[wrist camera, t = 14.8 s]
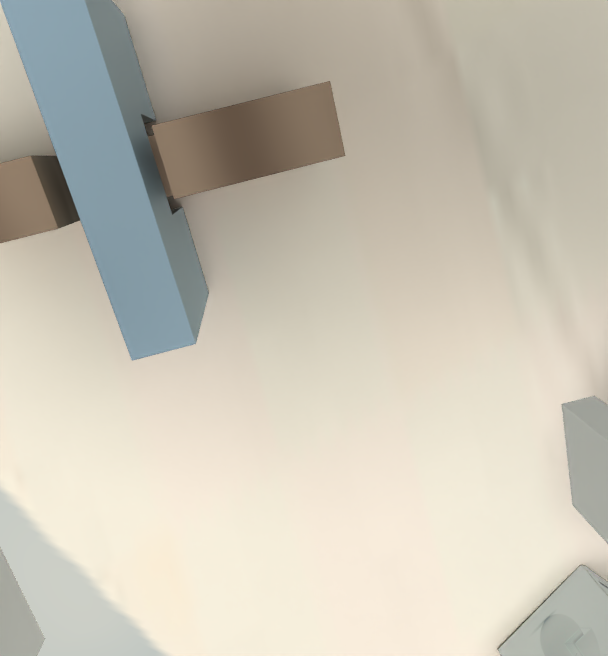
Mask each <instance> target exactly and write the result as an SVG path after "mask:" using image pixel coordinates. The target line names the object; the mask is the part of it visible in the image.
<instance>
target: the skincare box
mask: <svg viewBox="0 0 608 656" xmlns="http://www.w3.org/2000/svg"><path fill="white" fill-rule="evenodd" d="M498 651H499V653H500V655H501V656H608V582H607V581H606V580H604V579H603V578H601V577H600V576H598V575H597V574H595V573H594V572H593V571H591V570H590V569H589V568H587V567H586V566H582V565H580V566H579V567H578V568H577V569H576V570H575V571H574V572H573V573H572V574H571V575H570V576H569V577H568V578H567V579H566V580H565V582H564V583H563V584H562V585H561V586H560V587H559V588H558V589H557V590H556V591H555V592H554V593H553V594H552V595H551V596H550V597H549V598H548V599H547V600H546V601H545V602H544V603H543V604H542V605H541V606H540V607H539V608H538V609H537V610H536V611H535V612H534V613H533V614H532V615H531V616H530V617H529V618H528V619H527V620H526V621H525V622H524V623H523V624H522V625H521V626H520V628H519V629H518V630H517V631H516V632H515V633H514V634H513V635H512V636H511V637H510V638H509V639H508V640H507V641H506V642H505V643H504V644H503V645H502V646H501V647H500V648H499V649H498Z"/></svg>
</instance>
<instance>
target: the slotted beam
mask: <svg viewBox="0 0 608 656" xmlns="http://www.w3.org/2000/svg"><path fill="white" fill-rule="evenodd" d="M152 129H153V132H154V135H151V136H148V139H149V142H150V145H151V149H152V152H153V155H154V158H155V161H156V165H157V168H158V171H159V174H160V177H161V181H162V184H163V187H164V190H165V193H166V197H169V196H173V197H174V199H177V198H181V197H185V196H189V195H193V194H196V193H200V192H204V191H208V190H212V189H216V188H220V187H224V186H228V185H232V184H236V183H240V182H244V181H248V180H252V179H256V178H260V177H264V176H268V175H271V174H275V173H279V172H283V171H287V170H291V169H295V168H299V167H303V166H307V165H311V164H315V163H319V162H323V161H327V160H331V159H335V158H339V157H342V156H345V152H344V147H343V142H342V137H341V132H340V127H339V122H338V118H337V113H336V108H335V103H334V98H333V93H332V88H331V83H330V81H328V82H324V83H320V84H316V85H312V86H308V87H304V88H300V89H296V90H292V91H288V92H284V93H280V94H276V95H272V96H268V97H264V98H260V99H256V100H252V101H248V102H244V103H240V104H236V105H232V106H228V107H224V108H220V109H216V110H212V111H208V112H204V113H200V114H196V115H192V116H188V117H184V118H180V119H176V120H172V121H168V122H164V123H160V124H156V125H152ZM77 221H80V218H79V215H78V212H77V209H76V207H75V204H74V201H73V198H72V196H71V193H70V190H69V188H68V185H67V182H66V179H65V177H64V174H63V171H62V168H61V166H60V163H59V160H58V158H57V156H27V157H23V158H19V159H15V160H11V161H7V162H3V163H0V243H3V242H7V241H11V240H15V239H19V238H23V237H27V236H31V235H35V234H39V233H43V232H46V231H50V230H54V229H58V228H61V227H64V226H66V225H69V224H72V223H74V222H77Z"/></svg>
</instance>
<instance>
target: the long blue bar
mask: <svg viewBox="0 0 608 656" xmlns="http://www.w3.org/2000/svg"><path fill="white" fill-rule="evenodd" d="M0 2H1V5H2V8H3V10H4V13H5V16H6V19H7V21H8V24H9V27H10V29H11V32H12V35H13V38H14V40H15V43H16V46H17V49H18V51H19V54H20V57H21V59H22V62H23V65H24V68H25V70H26V73H27V76H28V79H29V81H30V84H31V87H32V89H33V92H34V95H35V98H36V100H37V103H38V106H39V109H40V111H41V114H42V117H43V119H44V122H45V125H46V128H47V130H48V133H49V136H50V138H51V141H52V144H53V147H54V149H55V152H56V155H57V158H58V160H59V163H60V166H61V168H62V171H63V174H64V177H65V179H66V182H67V185H68V188H69V190H70V193H71V196H72V198H73V201H74V204H75V207H76V209H77V212H78V215H79V218H80V220H81V223H82V226H83V228H84V231H85V234H86V237H87V239H88V242H89V245H90V248H91V250H92V253H93V256H94V258H95V261H96V264H97V267H98V269H99V272H100V275H101V278H102V280H103V283H104V286H105V288H106V291H107V294H108V297H109V299H110V302H111V305H112V308H113V310H114V313H115V316H116V318H117V321H118V324H119V327H120V329H121V332H122V335H123V337H124V340H125V343H126V346H127V348H128V351H129V354H130V357H131V359H132V360H136V359H140V358H144V357H147V356H151V355H155V354H159V353H163V352H167V351H170V350H174V349H178V348H182V347H186V346H189V345H193V344H196V341H197V337H198V333H199V329H200V325H201V321H202V318H203V314H204V310H205V306H206V302H207V298H208V294H209V292H208V289H207V285H206V282H205V279H204V276H203V272H202V269H201V266H200V262H199V259H198V256H197V253H196V249H195V246H194V243H193V239H192V236H191V233H190V230H189V226H188V223H187V220H186V217H185V213H184V210H183V207H180V208H176V209H172V210H171V209H170V206H169V203H168V200H167V197H166V193H165V190H164V187H163V184H162V181H161V177H160V174H159V171H158V168H157V165H156V161H155V158H154V155H153V152H152V149H151V145H150V142H149V139H148V136H147V133H146V129H145V126H144V123H148V122H152V121H156V118H155V115H154V112H153V108H152V105H151V102H150V99H149V95H148V92H147V89H146V85H145V82H144V79H143V76H142V72H141V69H140V66H139V63H138V59H137V56H136V53H135V49H134V46H133V43H132V40H131V36H130V33H129V30H128V27H127V23H126V20H125V17H124V14H123V13H122V12H121V11H120V9H119V8H118V7H117V6H116V5H115V3H114V2H113V1H112V0H0Z"/></svg>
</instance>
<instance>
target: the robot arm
mask: <svg viewBox="0 0 608 656" xmlns="http://www.w3.org/2000/svg"><path fill="white" fill-rule="evenodd" d="M562 411H563V421H564V430H565V439H566V448H567V458H568V467H569V476H570V485H571V494H572V504H573V506H574V507H575V508H576V510H577V511H578V512H579V513H580V514H581V515H582V516H583V517H584V518H585V519H586V521H587V522H588V523H589V524H590V525H591V526H592V527H593V528H594V529H595V530H596V532H597V533H598V534H599V535H600V536H601V537H602V538H603V539H604V540H605V541H606V542H607V544H608V405H607V404H606V403H604V402H603V401H601V400H600V399H598V398H597V397H595V396H592V397H588V398H584V399H580V400H576V401H572V402H568V403H564V404H562ZM44 640H45V638H44V635H43V634H42V631H41V629H40V627H39V625H38V623H37V621H36V619H35V617H34V615H33V613H32V611H31V609H30V607H29V605H28V603H27V601H26V599H25V597H24V595H23V593H22V591H21V589H20V587H19V585H18V582H17V581H16V578H15V576H14V575H13V572H12V570H11V568H10V566H9V564H8V562H7V560H6V558H5V556H4V554H3V552H2V550H1V548H0V656H37V655H38V653H39V651H40V649H41V646H42V644H43V642H44Z"/></svg>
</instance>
